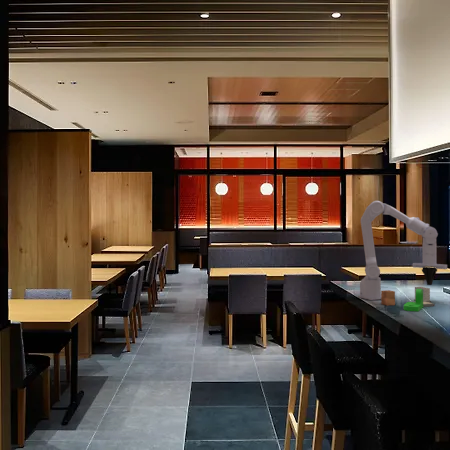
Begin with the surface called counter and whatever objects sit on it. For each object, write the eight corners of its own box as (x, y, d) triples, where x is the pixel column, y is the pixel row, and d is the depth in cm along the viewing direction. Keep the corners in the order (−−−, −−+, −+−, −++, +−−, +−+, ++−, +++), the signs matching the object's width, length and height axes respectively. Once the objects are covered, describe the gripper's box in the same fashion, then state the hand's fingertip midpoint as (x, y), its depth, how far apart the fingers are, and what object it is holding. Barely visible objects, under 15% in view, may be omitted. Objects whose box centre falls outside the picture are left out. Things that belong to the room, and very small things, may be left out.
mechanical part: (407, 306, 213) (407, 287, 213) (423, 307, 210) (423, 288, 210) (402, 310, 203) (402, 290, 203) (418, 312, 200) (417, 291, 200)
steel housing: (413, 301, 226) (413, 286, 226) (420, 300, 227) (420, 286, 227) (424, 303, 219) (424, 288, 219) (431, 303, 220) (431, 288, 220)
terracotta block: (381, 304, 217) (381, 290, 217) (389, 304, 219) (389, 290, 219) (387, 306, 213) (386, 291, 213) (395, 305, 215) (395, 291, 215)
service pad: (411, 304, 217) (411, 301, 217) (422, 303, 219) (422, 301, 219) (423, 306, 210) (423, 304, 210) (434, 306, 212) (434, 303, 212)
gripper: (409, 253, 226) (409, 284, 226) (442, 255, 216) (442, 287, 216) (416, 253, 231) (416, 282, 231) (448, 254, 221) (449, 285, 221)
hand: (429, 284), depth 224 cm, fingers closed
